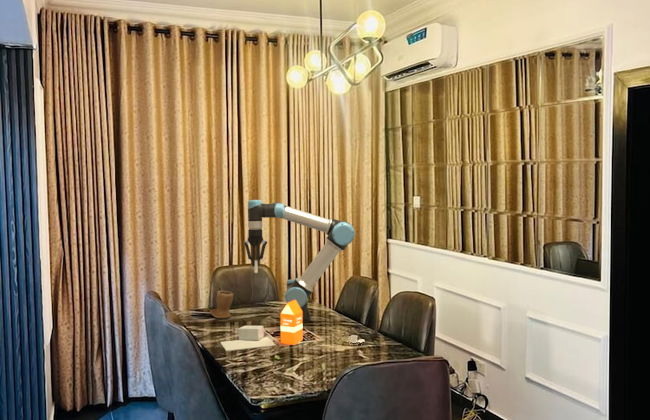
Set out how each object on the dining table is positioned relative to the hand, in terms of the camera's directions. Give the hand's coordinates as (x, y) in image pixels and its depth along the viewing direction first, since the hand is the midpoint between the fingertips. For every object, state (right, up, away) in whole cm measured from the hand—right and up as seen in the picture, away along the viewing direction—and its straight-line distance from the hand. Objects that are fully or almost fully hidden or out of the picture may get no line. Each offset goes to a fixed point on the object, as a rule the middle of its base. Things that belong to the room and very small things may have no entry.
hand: (255, 272), depth 309 cm
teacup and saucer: (+53, -32, -34) cm, 71 cm away
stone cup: (-22, -29, +24) cm, 44 cm away
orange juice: (+21, -31, -28) cm, 47 cm away
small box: (-5, -28, -22) cm, 36 cm away
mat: (0, -31, -32) cm, 45 cm away
